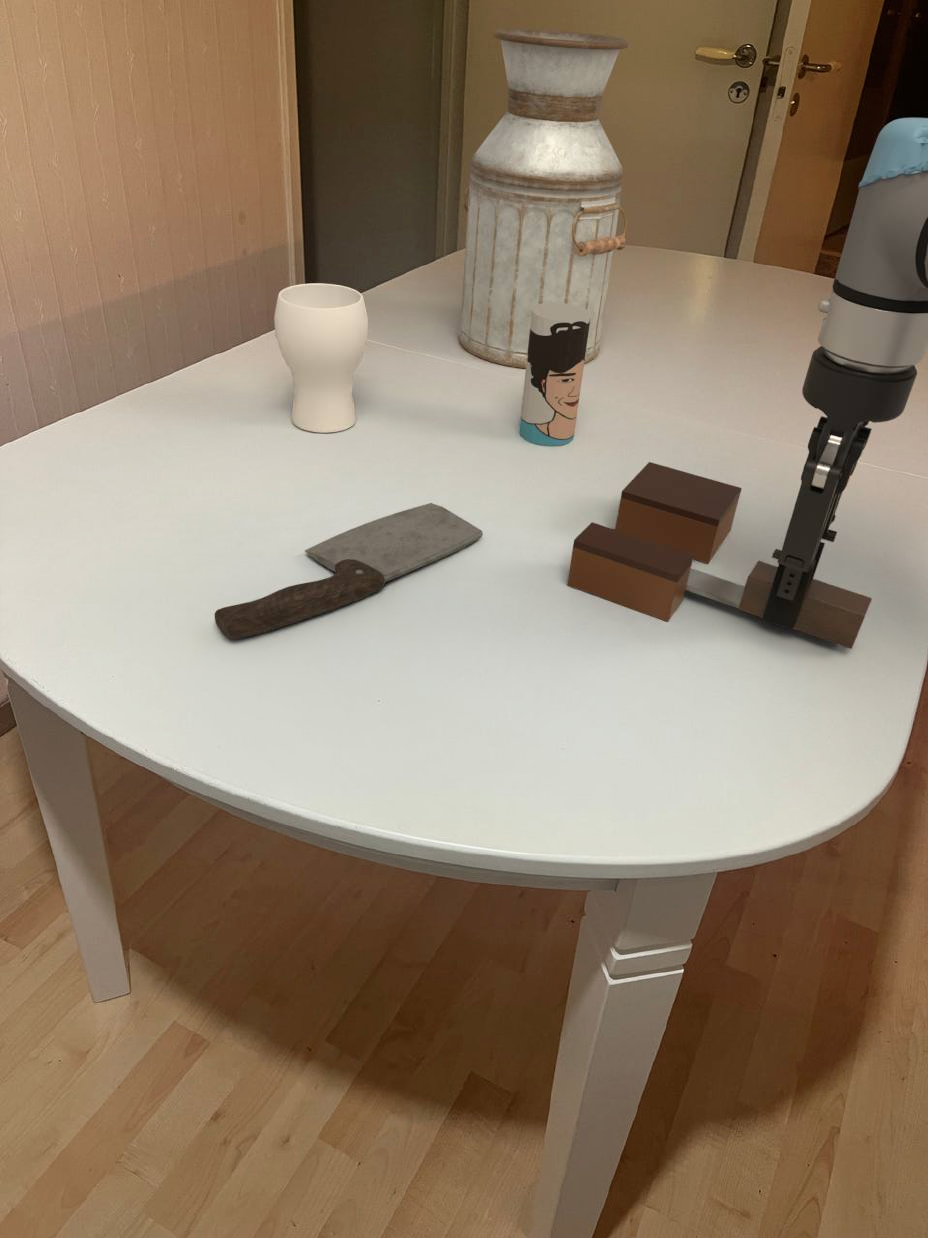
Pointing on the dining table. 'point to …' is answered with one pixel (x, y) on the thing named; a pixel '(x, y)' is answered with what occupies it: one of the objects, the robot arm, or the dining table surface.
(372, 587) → the cleaver
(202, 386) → the dining table surface
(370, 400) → the dining table surface
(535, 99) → the milk can
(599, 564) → the cake slice
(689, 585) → the knife
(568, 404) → the cup
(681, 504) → the cake
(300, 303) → the cup
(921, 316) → the robot arm
